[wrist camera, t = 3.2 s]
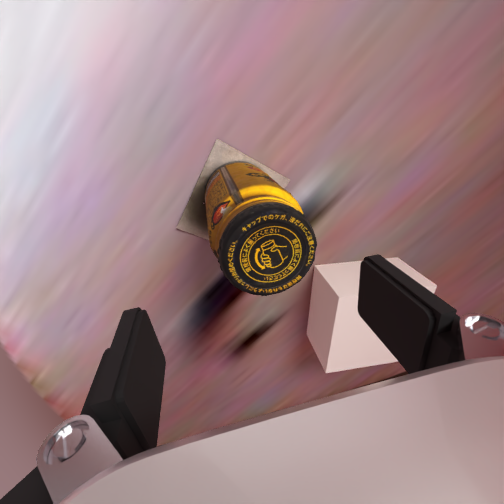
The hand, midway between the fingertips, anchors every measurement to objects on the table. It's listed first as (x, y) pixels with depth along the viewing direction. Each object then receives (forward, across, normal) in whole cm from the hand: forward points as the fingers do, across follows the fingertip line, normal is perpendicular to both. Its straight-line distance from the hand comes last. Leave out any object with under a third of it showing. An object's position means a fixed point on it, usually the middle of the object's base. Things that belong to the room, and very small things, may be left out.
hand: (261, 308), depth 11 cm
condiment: (+15, -1, 0) cm, 15 cm away
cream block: (+15, -13, +14) cm, 24 cm away
